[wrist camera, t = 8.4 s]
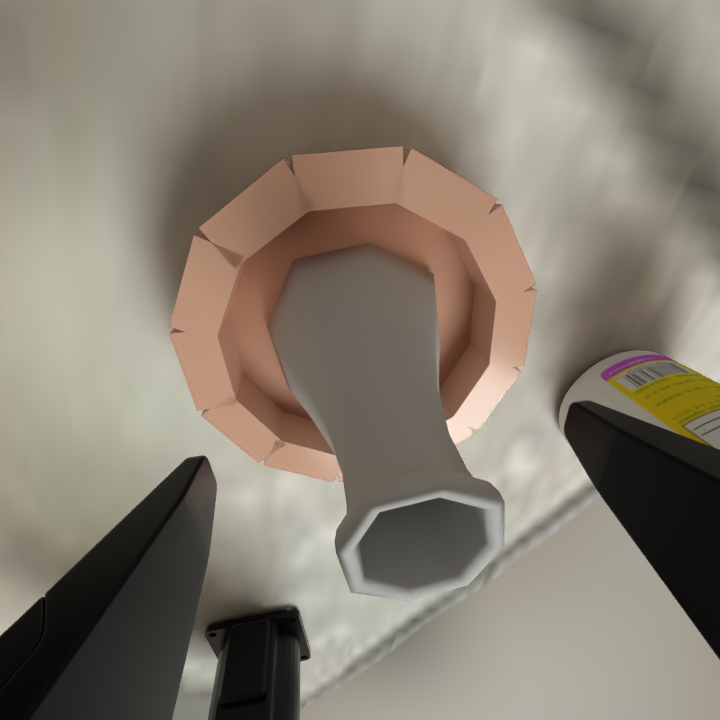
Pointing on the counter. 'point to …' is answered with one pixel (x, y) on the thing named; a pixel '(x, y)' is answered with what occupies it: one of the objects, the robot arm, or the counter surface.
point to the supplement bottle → (652, 394)
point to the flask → (384, 421)
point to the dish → (333, 232)
